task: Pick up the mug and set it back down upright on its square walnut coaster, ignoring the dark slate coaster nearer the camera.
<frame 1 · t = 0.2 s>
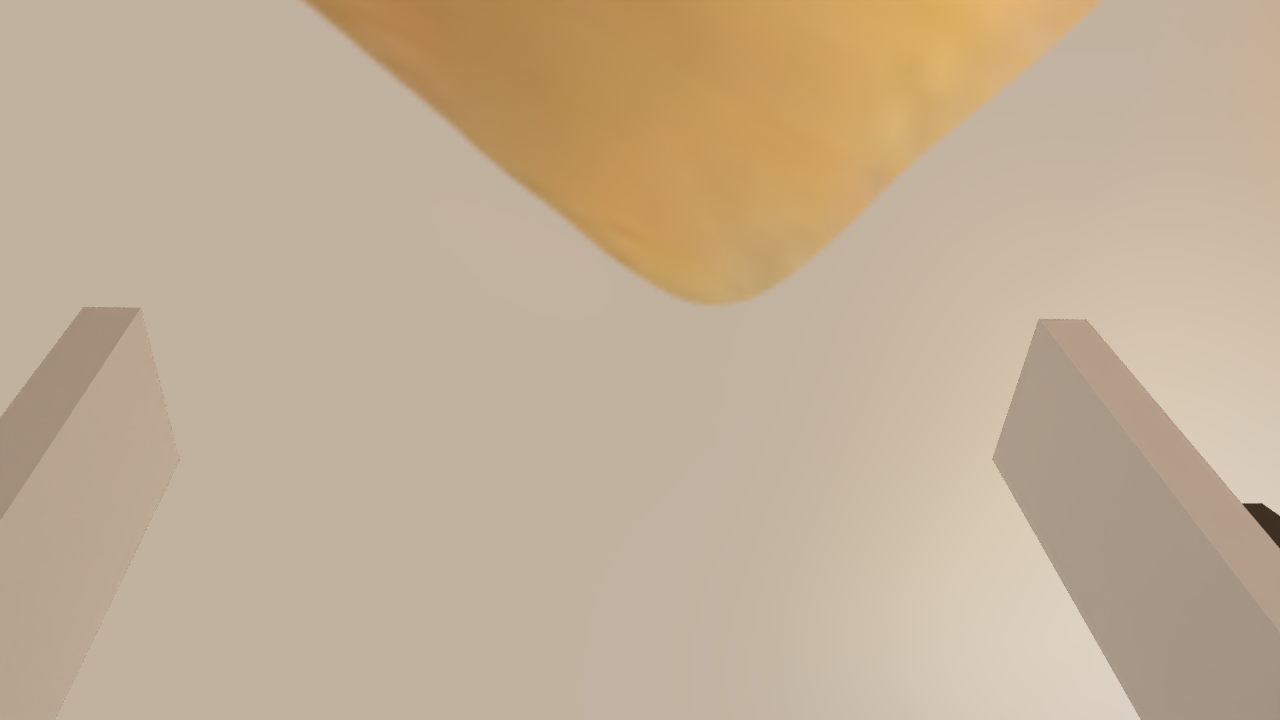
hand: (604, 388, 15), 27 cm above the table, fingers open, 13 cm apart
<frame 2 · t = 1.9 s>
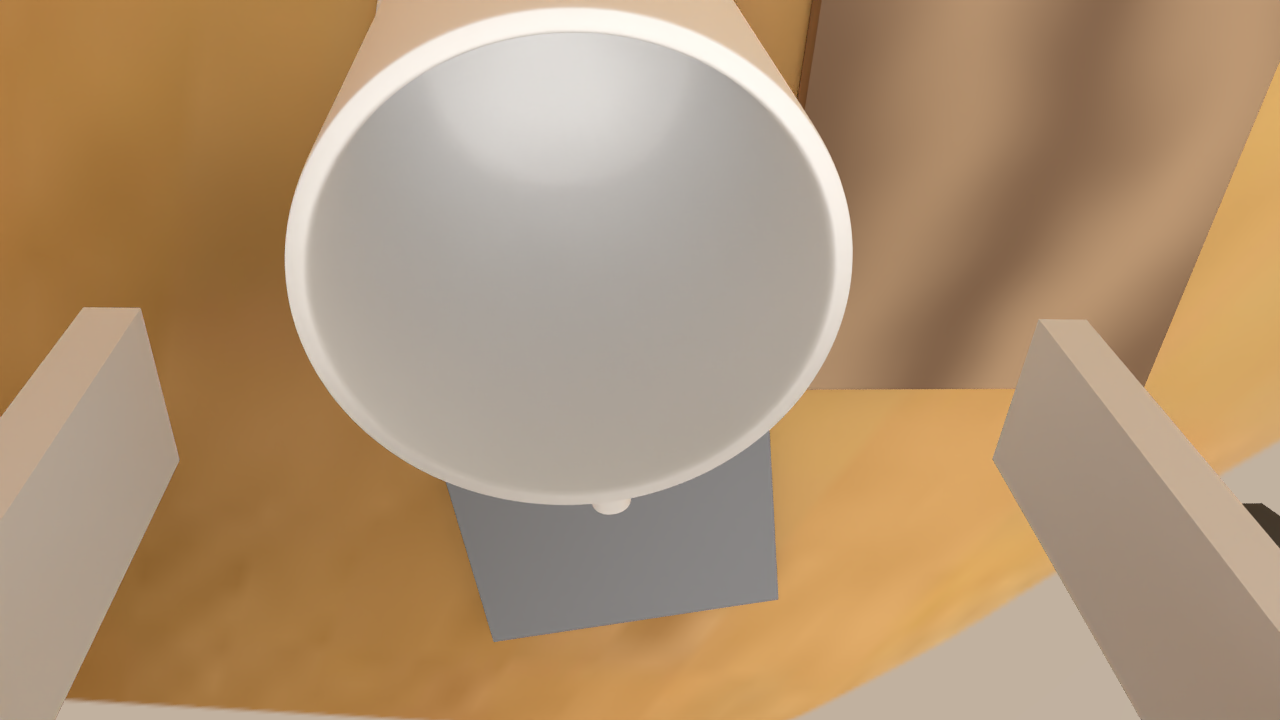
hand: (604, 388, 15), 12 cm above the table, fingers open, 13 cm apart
slate coaster: (616, 501, 32), on the table
mug: (560, 109, 25), on the table
walnut coaster: (997, 194, 27), on the table
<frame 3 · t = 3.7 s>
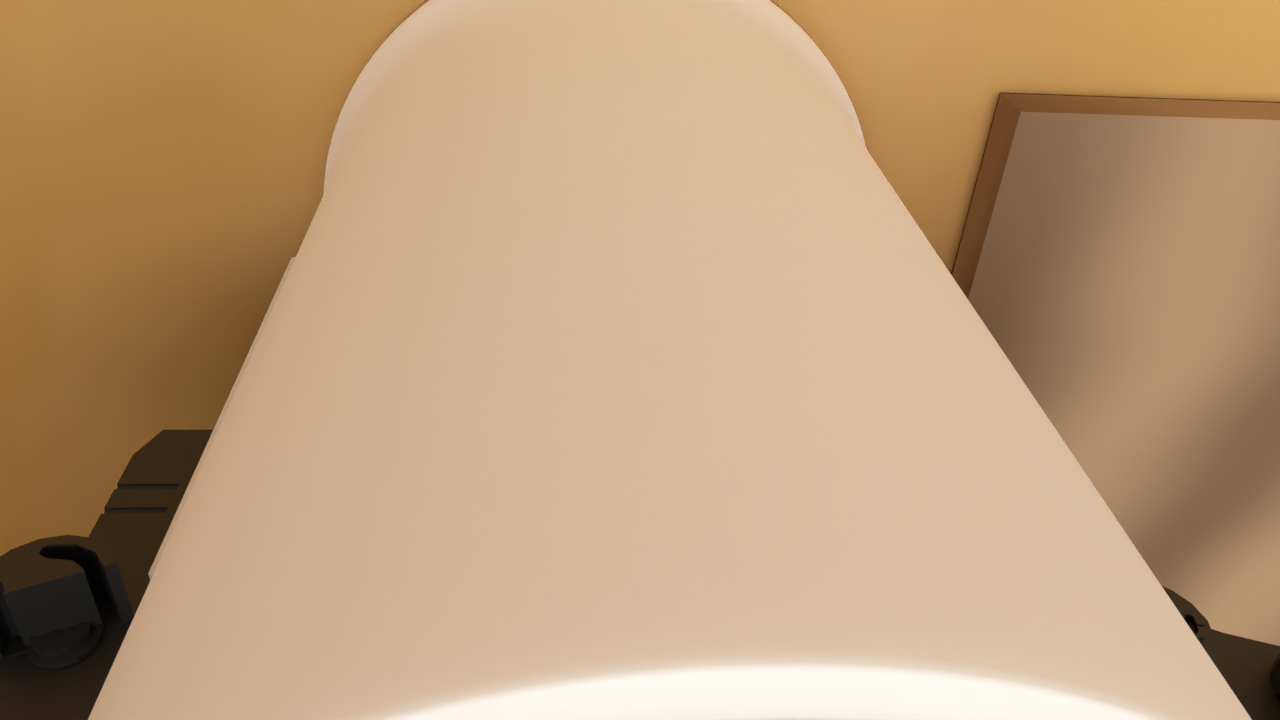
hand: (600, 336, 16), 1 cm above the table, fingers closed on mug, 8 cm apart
mug: (602, 305, 17), on the table, touching gripper
walnut coaster: (1219, 408, 19), on the table
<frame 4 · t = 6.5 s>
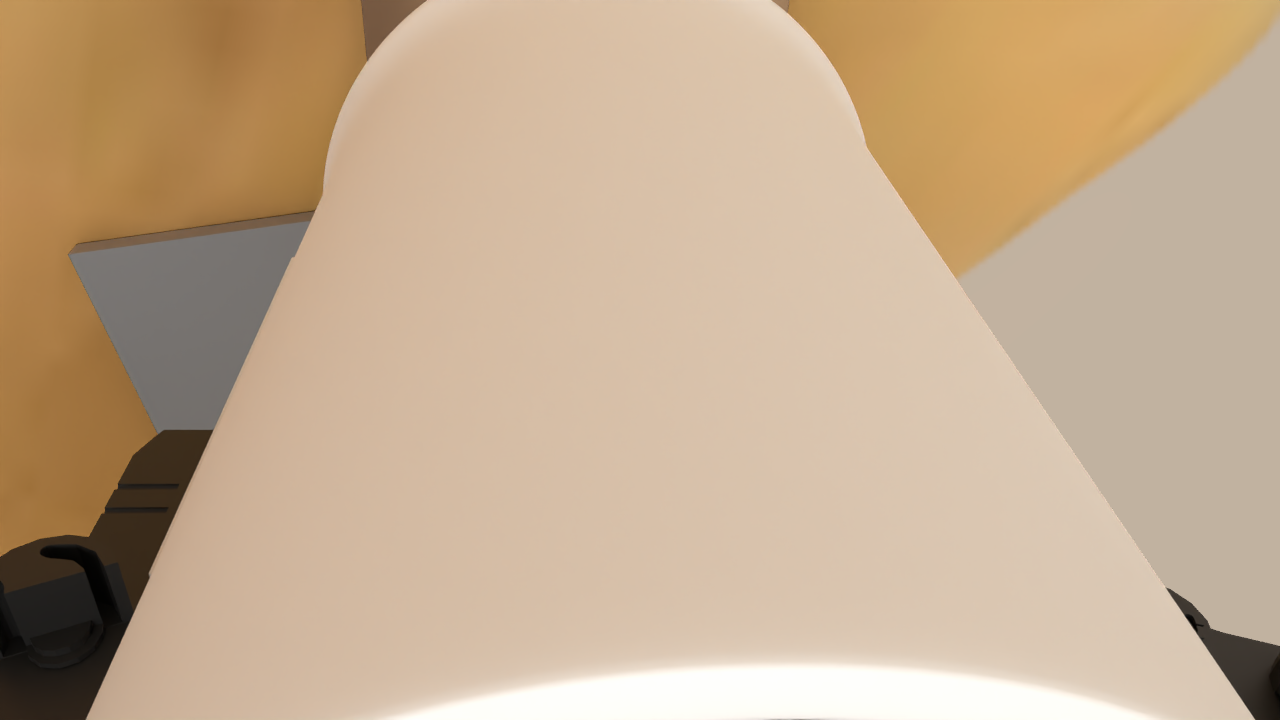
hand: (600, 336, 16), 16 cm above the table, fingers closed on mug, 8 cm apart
slate coaster: (281, 351, 35), on the table
mug: (602, 305, 17), point 15 cm above the table, touching gripper
walnut coaster: (576, 44, 29), on the table
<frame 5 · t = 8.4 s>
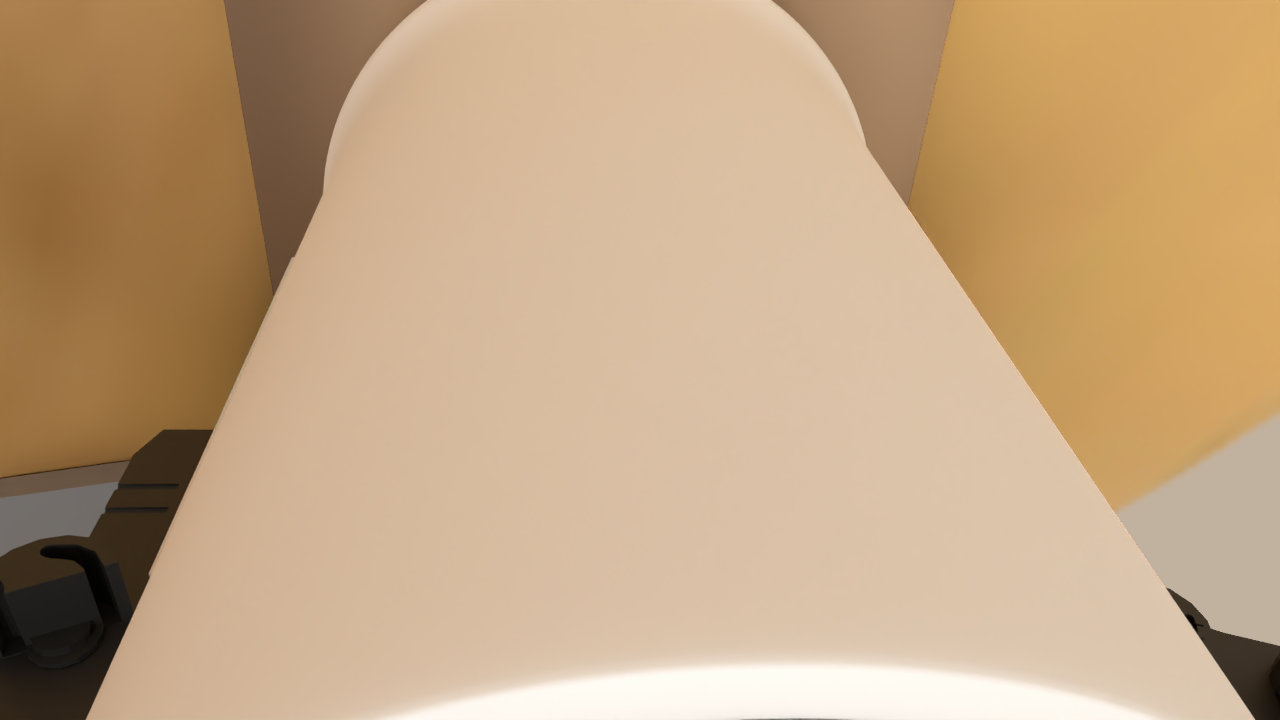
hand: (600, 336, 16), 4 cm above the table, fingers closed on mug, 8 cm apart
slate coaster: (172, 619, 25), on the table
mug: (602, 304, 17), point 3 cm above the table, touching gripper
walnut coaster: (589, 226, 20), on the table
when the fingers open (3 cm above the table, at t = 9.5 s): mug drops 1 cm, resting on walnut coaster.
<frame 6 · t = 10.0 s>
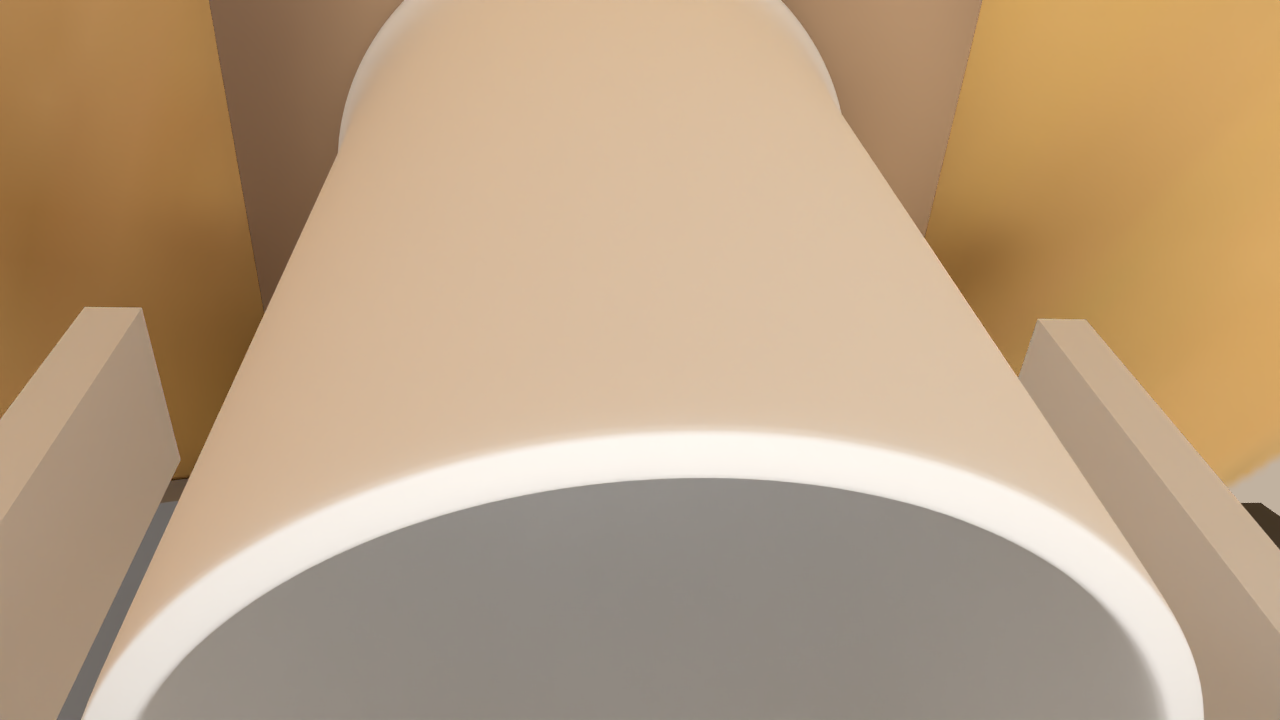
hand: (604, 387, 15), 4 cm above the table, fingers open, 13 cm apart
slate coaster: (163, 648, 24), on the table
mug: (596, 262, 18), point 1 cm above the table, touching walnut coaster
walnut coaster: (594, 248, 19), on the table
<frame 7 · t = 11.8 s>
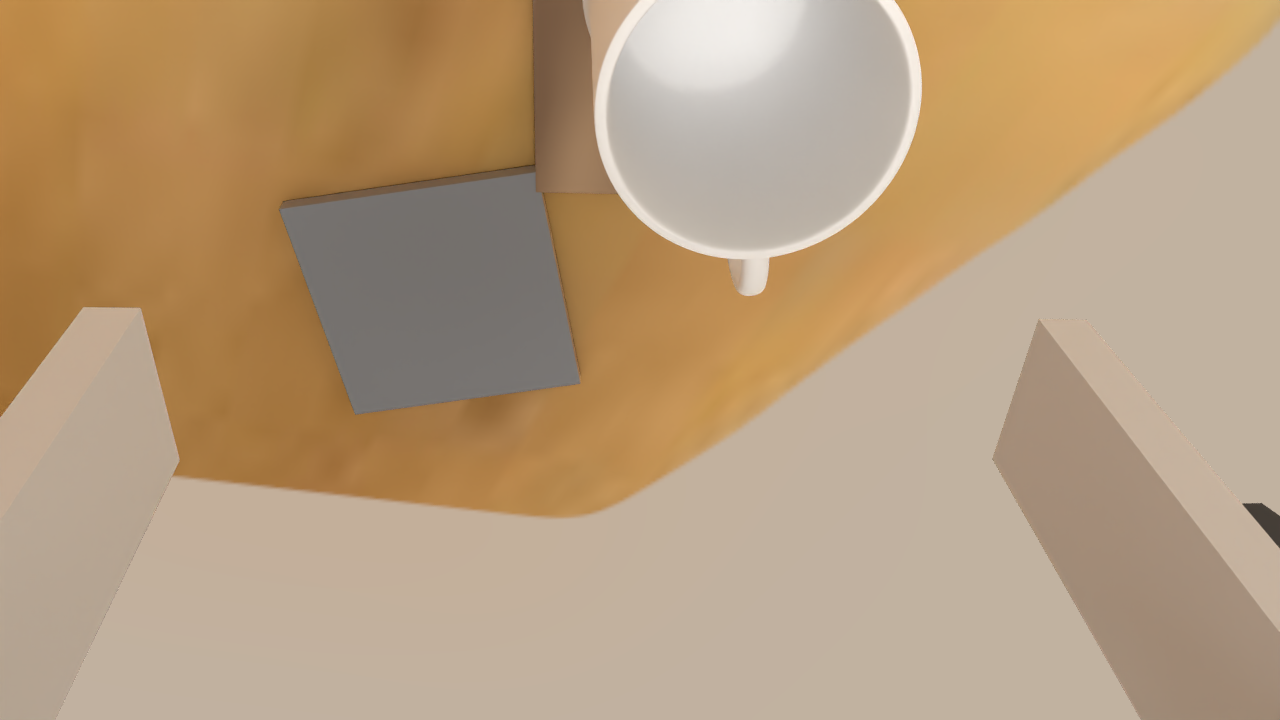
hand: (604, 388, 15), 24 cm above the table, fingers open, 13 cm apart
slate coaster: (441, 293, 41), on the table
mug: (704, 36, 35), point 1 cm above the table, touching walnut coaster
walnut coaster: (701, 32, 36), on the table
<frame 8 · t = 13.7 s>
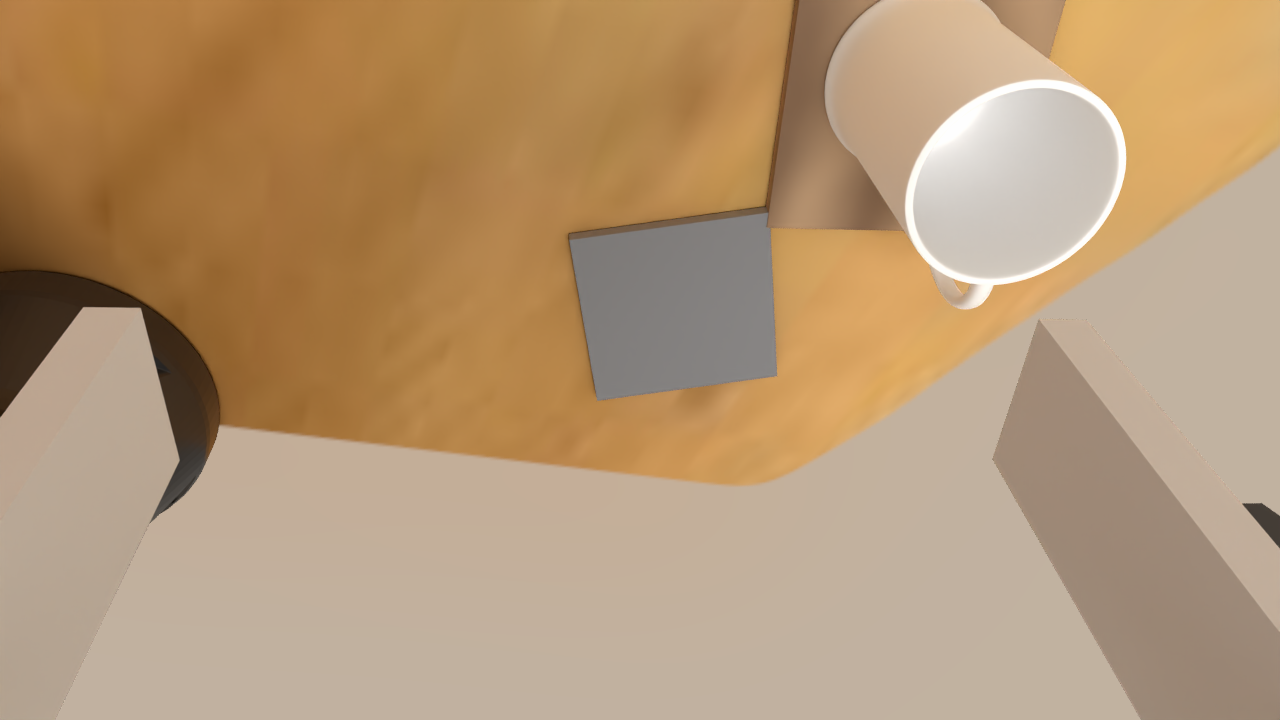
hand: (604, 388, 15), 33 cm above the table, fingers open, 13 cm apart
slate coaster: (677, 304, 53), on the table
mug: (908, 113, 47), point 1 cm above the table, touching walnut coaster
walnut coaster: (903, 109, 47), on the table
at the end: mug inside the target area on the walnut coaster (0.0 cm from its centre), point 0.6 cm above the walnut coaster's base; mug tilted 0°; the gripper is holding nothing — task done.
